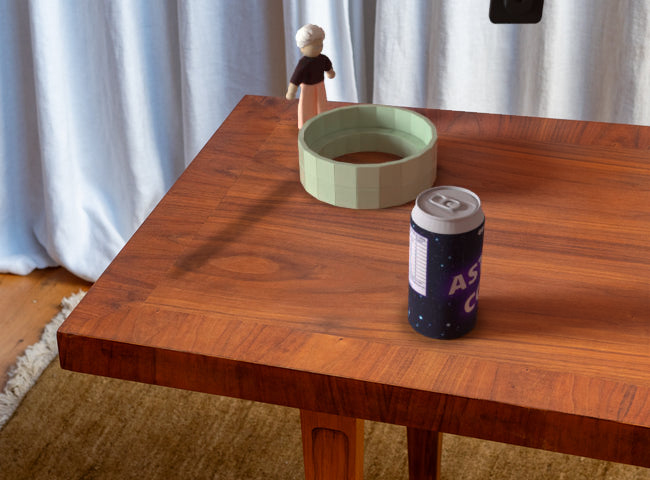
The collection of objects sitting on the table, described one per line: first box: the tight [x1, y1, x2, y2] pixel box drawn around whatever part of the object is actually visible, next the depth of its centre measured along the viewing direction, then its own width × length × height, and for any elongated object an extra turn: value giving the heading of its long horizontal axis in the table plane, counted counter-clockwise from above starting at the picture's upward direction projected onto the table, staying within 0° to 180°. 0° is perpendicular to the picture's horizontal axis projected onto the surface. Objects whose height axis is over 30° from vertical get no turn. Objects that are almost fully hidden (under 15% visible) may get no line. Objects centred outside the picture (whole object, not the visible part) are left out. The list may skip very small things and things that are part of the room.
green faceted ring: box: [297, 103, 439, 210], centre depth 92 cm, size 14×14×6 cm
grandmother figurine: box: [285, 23, 337, 130], centre depth 100 cm, size 8×4×13 cm, turn 150°
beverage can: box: [407, 185, 486, 341], centre depth 70 cm, size 6×6×12 cm
